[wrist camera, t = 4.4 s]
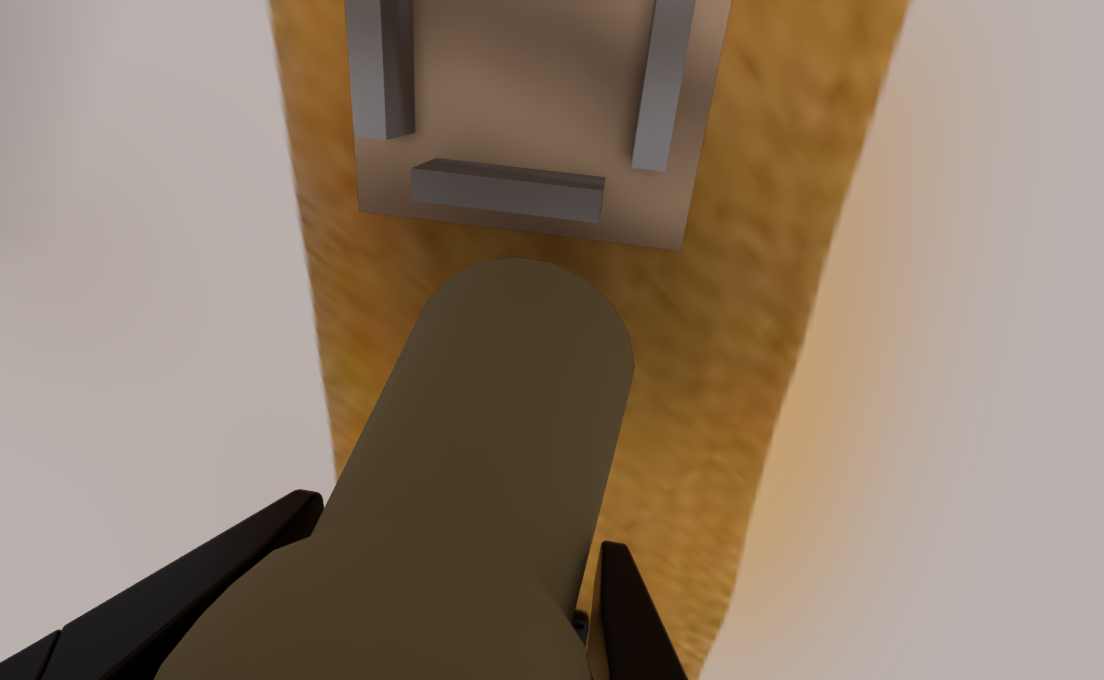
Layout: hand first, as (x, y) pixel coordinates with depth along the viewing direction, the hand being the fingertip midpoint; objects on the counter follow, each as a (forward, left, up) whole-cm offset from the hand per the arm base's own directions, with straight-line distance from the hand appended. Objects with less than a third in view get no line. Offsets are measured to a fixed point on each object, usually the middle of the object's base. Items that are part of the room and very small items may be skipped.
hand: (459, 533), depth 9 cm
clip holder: (+8, +1, -13) cm, 16 cm away
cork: (0, 0, -6) cm, 6 cm away
